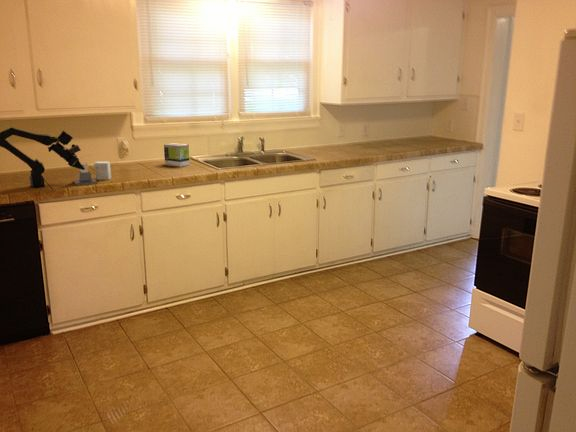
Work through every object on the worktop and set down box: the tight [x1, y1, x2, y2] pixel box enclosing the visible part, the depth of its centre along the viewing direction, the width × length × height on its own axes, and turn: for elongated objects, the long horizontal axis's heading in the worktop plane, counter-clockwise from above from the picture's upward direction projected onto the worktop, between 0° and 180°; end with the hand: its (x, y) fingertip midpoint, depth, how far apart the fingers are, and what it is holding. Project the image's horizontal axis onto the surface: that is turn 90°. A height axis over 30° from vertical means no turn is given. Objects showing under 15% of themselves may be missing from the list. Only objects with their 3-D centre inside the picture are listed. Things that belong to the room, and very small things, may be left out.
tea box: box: [163, 142, 190, 168], centre depth 376 cm, size 15×10×15 cm, turn 58°
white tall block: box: [79, 162, 89, 173], centre depth 320 cm, size 4×4×10 cm
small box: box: [94, 161, 112, 181], centre depth 331 cm, size 8×6×10 cm
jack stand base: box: [73, 170, 98, 186], centre depth 321 cm, size 12×12×6 cm
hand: (83, 168), depth 319 cm, fingers open, 9 cm apart
